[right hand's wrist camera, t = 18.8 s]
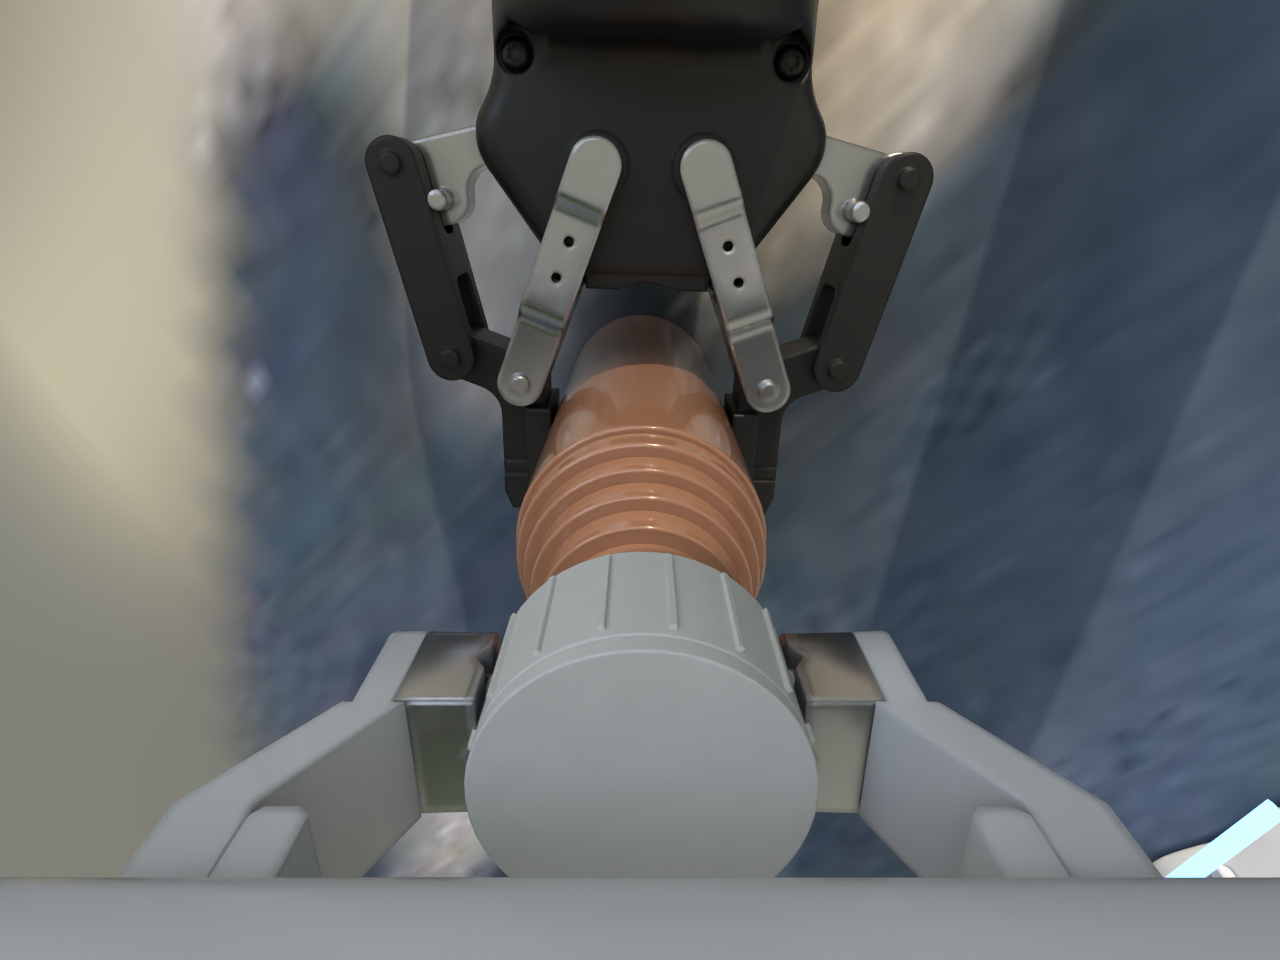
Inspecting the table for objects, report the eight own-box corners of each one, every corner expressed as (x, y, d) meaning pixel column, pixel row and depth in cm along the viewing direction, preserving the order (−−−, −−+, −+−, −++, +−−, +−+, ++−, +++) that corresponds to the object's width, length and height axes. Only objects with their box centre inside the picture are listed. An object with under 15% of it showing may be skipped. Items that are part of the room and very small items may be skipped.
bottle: (713, 316, 26) (875, 591, 8) (704, 448, 28) (818, 911, 10) (573, 312, 26) (422, 578, 8) (573, 444, 27) (450, 903, 10)
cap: (511, 789, 11) (481, 928, 9) (483, 551, 10) (439, 653, 8) (778, 784, 11) (810, 922, 9) (792, 545, 10) (836, 644, 8)
